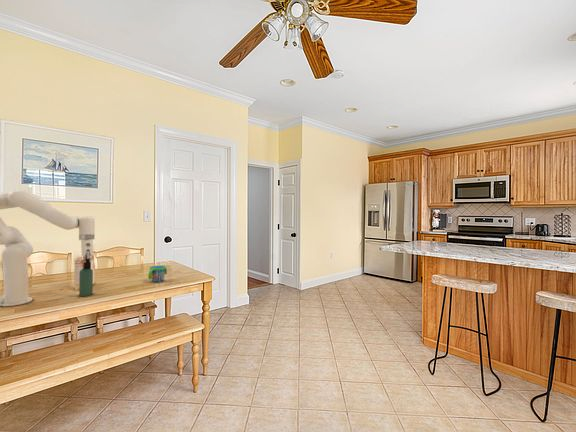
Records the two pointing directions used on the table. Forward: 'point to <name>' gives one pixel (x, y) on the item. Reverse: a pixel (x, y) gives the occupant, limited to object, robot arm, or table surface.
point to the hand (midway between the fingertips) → (86, 268)
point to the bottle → (86, 282)
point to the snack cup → (157, 273)
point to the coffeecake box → (78, 267)
